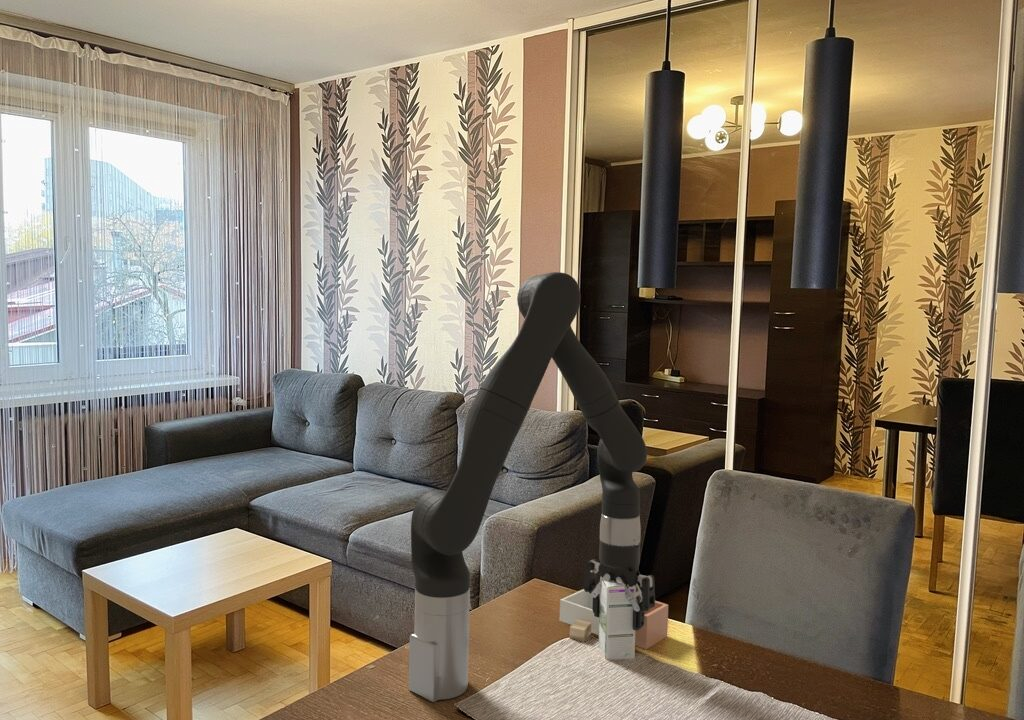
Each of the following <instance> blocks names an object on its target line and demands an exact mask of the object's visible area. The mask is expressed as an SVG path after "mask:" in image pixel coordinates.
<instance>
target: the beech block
mask: <svg viewBox="0 0 1024 720" xmlns="http://www.w3.org/2000/svg"><path fill="white" fill-rule="evenodd" d="M591 635H592V632H591V623H590V622H585V621H581V620H576V621H575V622H574V623H573V624H572V625H570V626H569V639H571V640H574V639H576V640H575V641H578V640H580V641H579V642H583V641H584V642H585V641H586V640H587V639H588V638H589V637H590V636H591Z"/></svg>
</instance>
